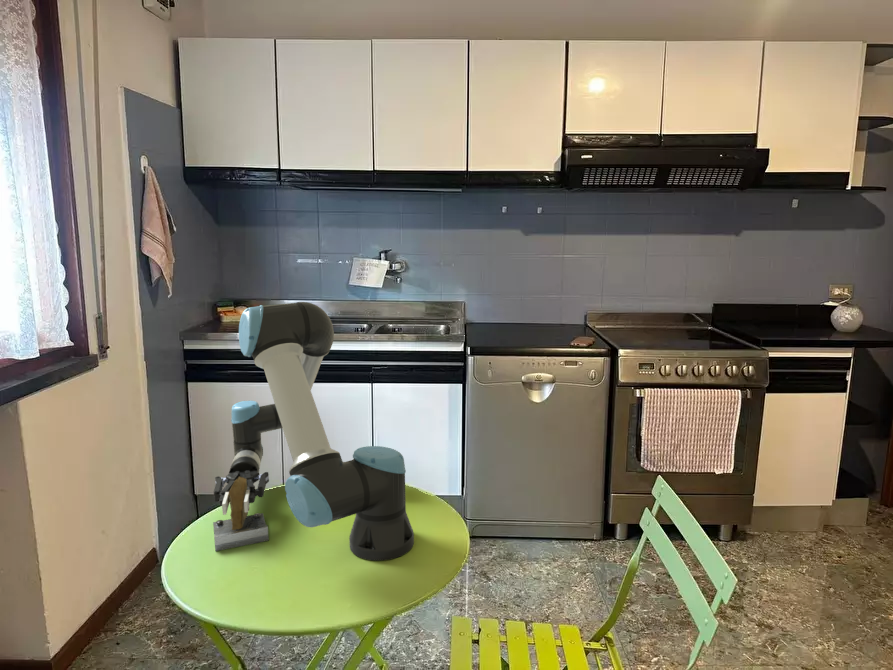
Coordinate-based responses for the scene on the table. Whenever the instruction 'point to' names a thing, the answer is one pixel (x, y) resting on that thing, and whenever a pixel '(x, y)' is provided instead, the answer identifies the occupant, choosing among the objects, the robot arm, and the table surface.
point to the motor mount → (240, 532)
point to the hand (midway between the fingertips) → (235, 508)
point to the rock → (238, 503)
